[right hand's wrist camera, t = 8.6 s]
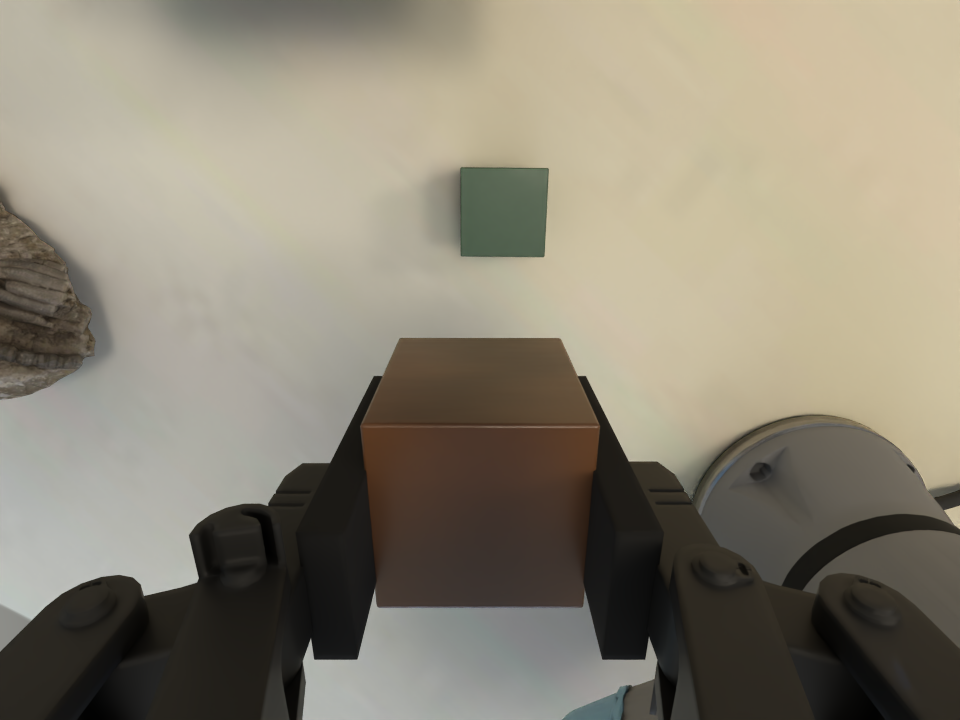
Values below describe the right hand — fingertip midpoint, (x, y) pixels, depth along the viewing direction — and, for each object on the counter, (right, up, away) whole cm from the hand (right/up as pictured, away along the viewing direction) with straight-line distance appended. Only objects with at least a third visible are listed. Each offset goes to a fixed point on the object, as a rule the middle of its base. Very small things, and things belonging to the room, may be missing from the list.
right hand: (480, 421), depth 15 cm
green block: (+1, +11, +17) cm, 20 cm away
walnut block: (0, 0, 0) cm, 0 cm away
